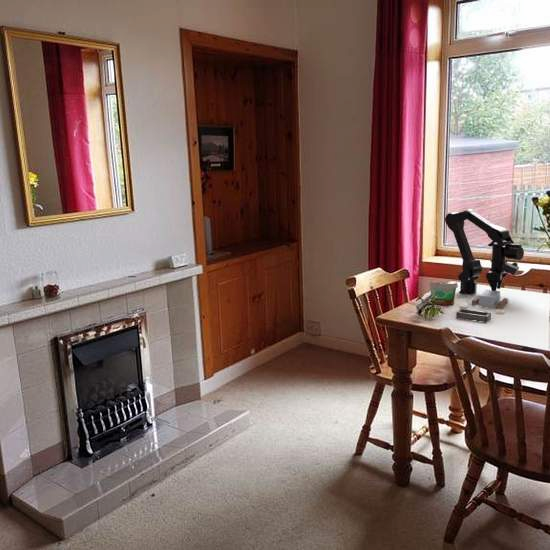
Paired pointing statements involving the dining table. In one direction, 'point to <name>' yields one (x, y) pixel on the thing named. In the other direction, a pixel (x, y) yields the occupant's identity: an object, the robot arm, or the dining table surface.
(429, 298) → the green spiky leafy piece
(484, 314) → the tray
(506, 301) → the lane
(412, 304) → the dining table surface
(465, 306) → the tiles
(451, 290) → the food container
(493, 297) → the block
